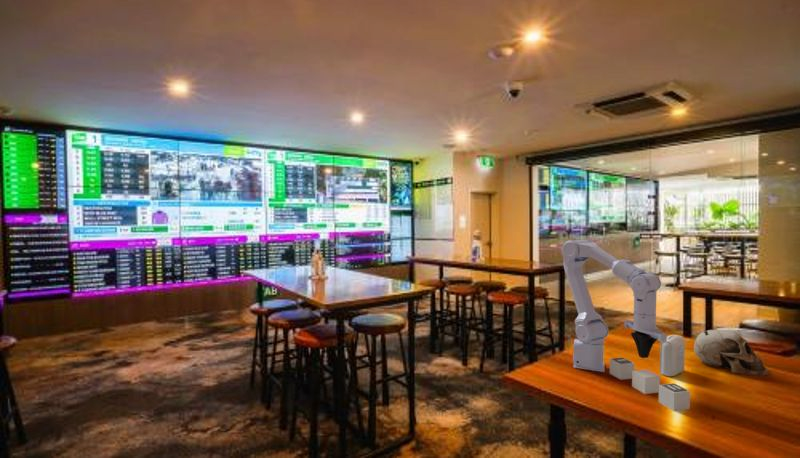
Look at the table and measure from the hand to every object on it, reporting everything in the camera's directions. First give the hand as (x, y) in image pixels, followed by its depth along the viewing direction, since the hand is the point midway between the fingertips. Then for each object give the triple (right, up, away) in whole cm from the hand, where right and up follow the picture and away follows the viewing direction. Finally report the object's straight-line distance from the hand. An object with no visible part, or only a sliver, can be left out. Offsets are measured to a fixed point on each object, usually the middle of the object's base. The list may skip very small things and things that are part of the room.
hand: (643, 357), depth 121 cm
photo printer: (+16, -9, +11) cm, 21 cm away
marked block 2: (+2, -10, -11) cm, 15 cm away
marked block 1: (-2, -9, +9) cm, 13 cm away
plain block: (0, -10, -1) cm, 10 cm away
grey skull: (+39, -8, +15) cm, 42 cm away
